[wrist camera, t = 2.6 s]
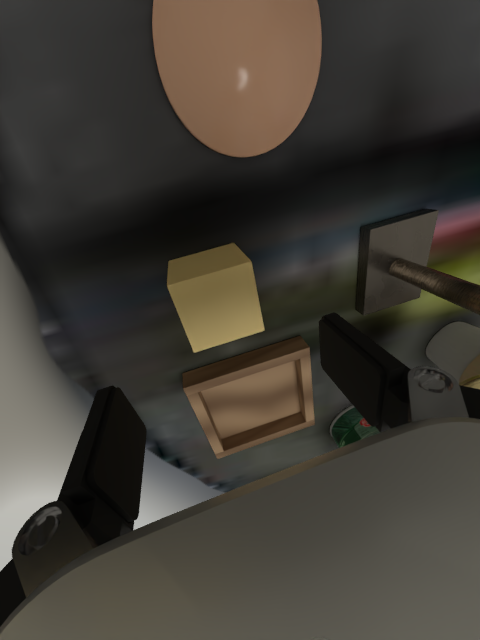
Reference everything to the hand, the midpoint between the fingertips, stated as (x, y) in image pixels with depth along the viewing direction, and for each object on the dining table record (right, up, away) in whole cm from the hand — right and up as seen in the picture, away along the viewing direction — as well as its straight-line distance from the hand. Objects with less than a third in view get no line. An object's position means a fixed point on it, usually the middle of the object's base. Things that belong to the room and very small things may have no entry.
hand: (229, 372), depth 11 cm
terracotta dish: (+1, +17, +2) cm, 17 cm away
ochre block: (-2, +6, +8) cm, 10 cm away
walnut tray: (+2, -6, +16) cm, 17 cm away
